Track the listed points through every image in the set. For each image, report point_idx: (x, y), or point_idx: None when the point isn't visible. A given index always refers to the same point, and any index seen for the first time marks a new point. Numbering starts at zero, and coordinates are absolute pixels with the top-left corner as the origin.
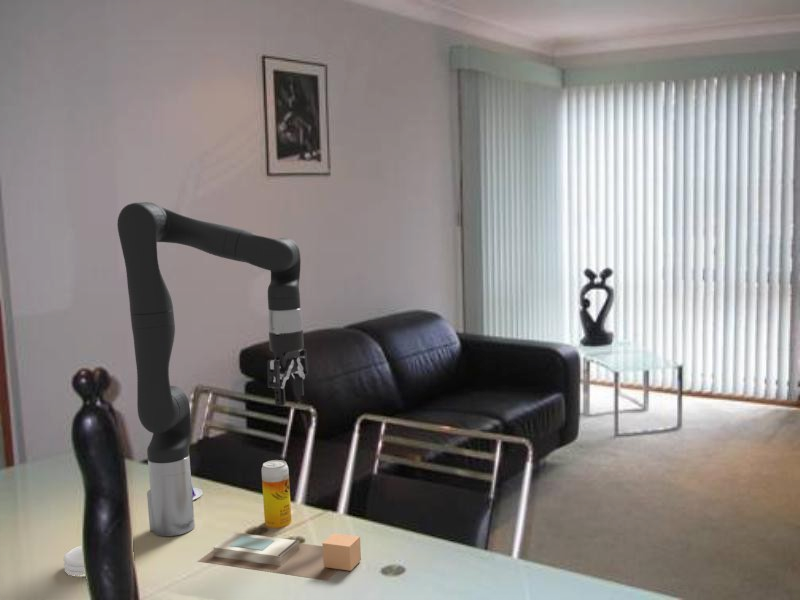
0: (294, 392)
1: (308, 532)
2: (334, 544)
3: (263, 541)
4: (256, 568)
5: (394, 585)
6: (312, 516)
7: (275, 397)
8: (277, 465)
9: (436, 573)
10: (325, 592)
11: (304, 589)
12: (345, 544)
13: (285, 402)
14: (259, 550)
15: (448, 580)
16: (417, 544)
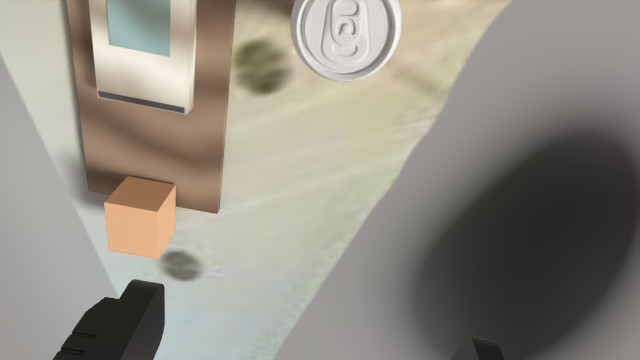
0: (473, 357)
1: (313, 89)
2: (106, 224)
3: (154, 29)
4: (77, 39)
5: (132, 274)
6: (413, 71)
7: (63, 348)
8: (337, 46)
9: (187, 315)
10: (69, 188)
11: (63, 152)
12: (114, 242)
13: (153, 351)
14: (108, 36)
15: (171, 329)
16: (282, 286)
